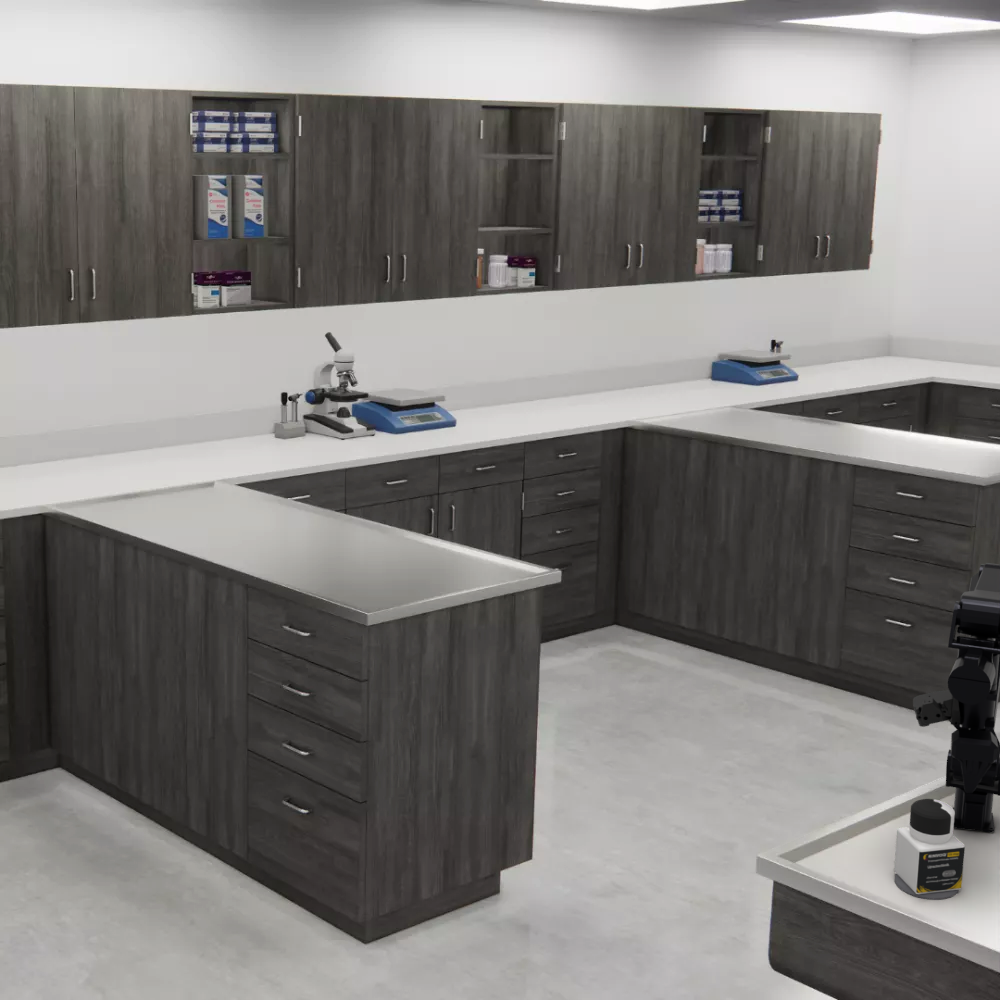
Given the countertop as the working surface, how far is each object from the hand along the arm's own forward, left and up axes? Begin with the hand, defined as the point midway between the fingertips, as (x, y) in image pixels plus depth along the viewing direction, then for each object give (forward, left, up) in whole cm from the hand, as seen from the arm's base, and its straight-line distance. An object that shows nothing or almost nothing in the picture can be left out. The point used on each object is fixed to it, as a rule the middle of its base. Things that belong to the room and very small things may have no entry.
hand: (967, 779), depth 213 cm
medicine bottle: (+9, -5, -13) cm, 16 cm away
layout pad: (+9, -5, -13) cm, 17 cm away
